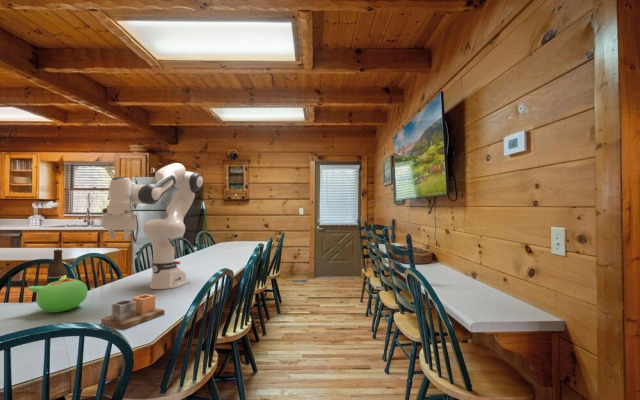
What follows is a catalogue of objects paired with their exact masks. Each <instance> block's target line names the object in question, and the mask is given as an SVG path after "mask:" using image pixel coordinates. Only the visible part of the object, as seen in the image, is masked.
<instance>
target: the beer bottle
mask: <svg viewBox="0 0 640 400" xmlns="http://www.w3.org/2000/svg"><path fill="white" fill-rule="evenodd" d="M63 263H64V262H63V249H55V250H53V259H52V266H51V267H50V268H49V270H48V272H47V284H49V283H52V282H54V281H57V280H59V279H60V278H61V277H62V276H64V275H66V276H67V277H68V270H67V269H66V267H65V266H64V264H63Z"/></svg>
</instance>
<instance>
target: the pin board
mask: <svg viewBox="0 0 640 400" xmlns="http://www.w3.org/2000/svg"><path fill="white" fill-rule="evenodd" d="M163 315H165V309H162V308H157V307H155V310H152V311H149V312H146V313H144V314H140V313H136V302H135V301H133V300H129V299H124V300H120V301H117V302H113V303H111V314H110V315H107V316H105V317H102V318H100V324H101V323H104V324H103V325H105V326H109V325H110V326H109V327H113V328H117V329H121V330H126V329H129V328H133V327H134V326H137V325H140V324H143V323H146V322H147V321H151V320H154V319H156V318H158V317H162V316H163Z"/></svg>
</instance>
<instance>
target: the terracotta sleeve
mask: <svg viewBox="0 0 640 400" xmlns="http://www.w3.org/2000/svg"><path fill="white" fill-rule="evenodd" d="M132 301H135V302H136V313H140V314H144V313H146V312H149V311H152V310H155V308H156V295H153V294H148V293H144V294H141V295H138V296H137V295H136V296H134V297H132Z"/></svg>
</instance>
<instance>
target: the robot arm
mask: <svg viewBox="0 0 640 400" xmlns="http://www.w3.org/2000/svg"><path fill="white" fill-rule="evenodd" d="M154 175H155V177H154V179H155V181H156V183H149V184H137V183H135V182H133V181H132V180H131V179H130V177H129V176H118V177H117V176H116V177H115V176H114V177H113V178H111V180H110V182H109V187H108V195H109V202H108V206H107V207H105V208H103V209H101V213H102V217H101V218H102V220H101V221H102V222H101V223H102V228H103V229H105V230H107V231H108V233H109V239H113V240H114V239H116V237H117V236H116V234H115V230H117V231H124V235H123V237H122V240H124V241H127V240H130V237H129V236H130V234H131V232H132V231H135V230H137V227H138V222H137V215H136V213H135V212H134V211H133V210H131V208H132V204H143V205H154V204H156V203H158V202H159V201H160V199H161V198H162V196H163V195H164V194H166V193H167V192H168V191H169V190H170V189H172V188H178V189H179V190H178V192H177V193H176V194H175V195H174V197H173V198H172V200H171V201H170V202H169V204H168V206H166V209H165V210H166V213H167V217H165V218H154V219H149V220H147V221H146V222H145V224H144V226H143V232H144V234H145V235H146V236H147V237H148V239H149V241H150V243H151V246H152V252H153V254H152V263H151V264H152V265H151V268H152V275H151V281H150V284H149V289H153V290H166V289H176V288H178V287H181V286H184V285H186V284H189V283H191V280H190V279H189V278H187V275H186V272H185V271H184V270H182V269H180V268H179V267H178V266H179V265H181V261H178V260H177V261H175V247H174V246H173V245H172V244H171V243H170V240H171V239H172V240H173V239H178V238H179V239H180V238H181V237H183V236H184V235H185V232H186V225H185V223H184V218H185V216H186V215H187V213H188V211H189V209H190V208H191V206H192V204H193V202H194V200H195V196H196V194H195V193H197V192H198V191H200V190H201V188H202V186H203V185H204V177H203V175H202V174H200V173H198V172H192V171H187V170H186V167H185V166H184V165H183V164H182V163H178V162H173V163H170V164H167V165H165V166H164V167H163V166H162V167H161V168H159V169H158V170H157V171H156V172H155V174H154ZM169 239H170V240H169Z"/></svg>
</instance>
